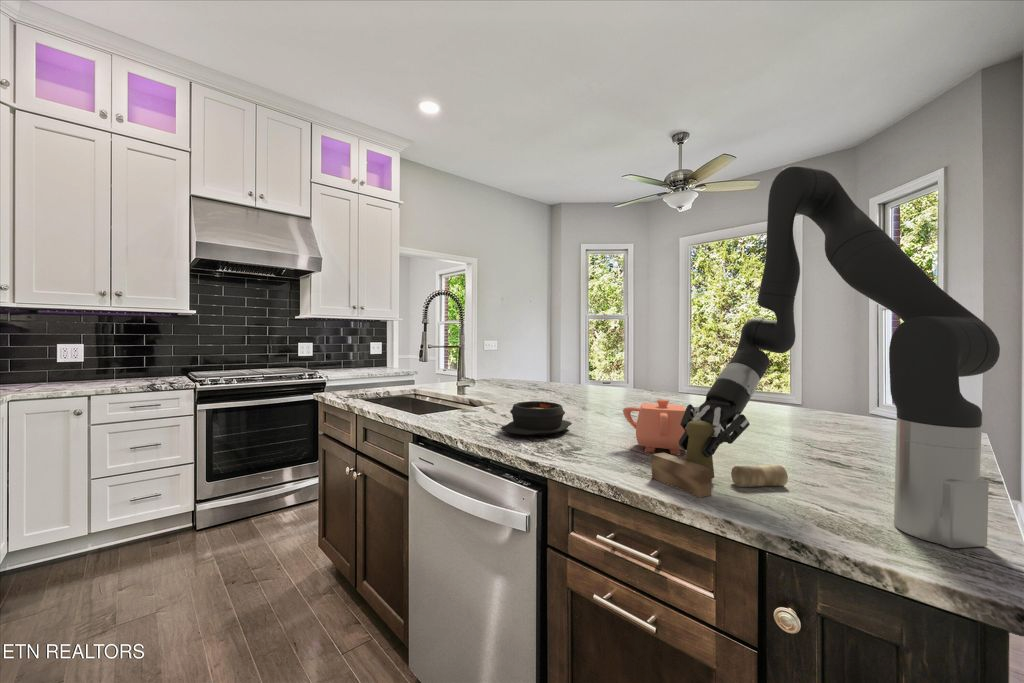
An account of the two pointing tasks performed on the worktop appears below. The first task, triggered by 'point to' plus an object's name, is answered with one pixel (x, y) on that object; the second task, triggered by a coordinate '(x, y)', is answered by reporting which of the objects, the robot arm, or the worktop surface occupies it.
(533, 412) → the casserole
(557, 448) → the worktop surface
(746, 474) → the roller
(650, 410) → the teapot
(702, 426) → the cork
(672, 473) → the block
